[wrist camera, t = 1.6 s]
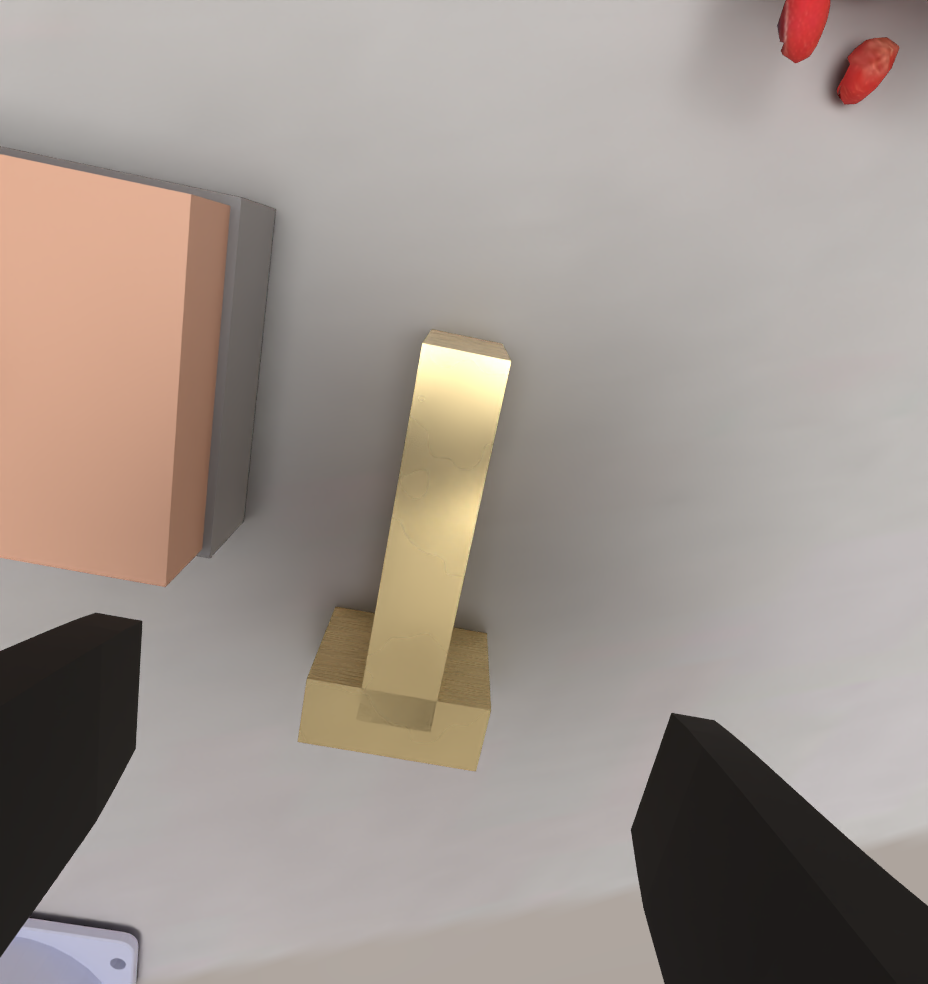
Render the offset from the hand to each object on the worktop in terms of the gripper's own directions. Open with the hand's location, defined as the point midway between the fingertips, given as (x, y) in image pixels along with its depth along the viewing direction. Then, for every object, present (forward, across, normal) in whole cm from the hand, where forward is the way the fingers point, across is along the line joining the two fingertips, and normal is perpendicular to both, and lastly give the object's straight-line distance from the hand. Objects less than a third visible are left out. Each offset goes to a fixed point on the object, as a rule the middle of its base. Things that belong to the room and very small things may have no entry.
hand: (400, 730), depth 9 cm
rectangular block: (+10, 0, 0) cm, 10 cm away
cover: (+7, +10, -2) cm, 12 cm away
